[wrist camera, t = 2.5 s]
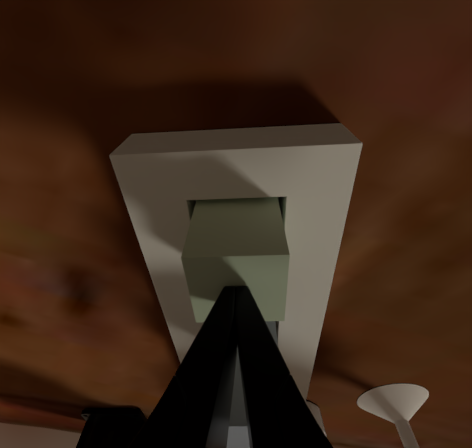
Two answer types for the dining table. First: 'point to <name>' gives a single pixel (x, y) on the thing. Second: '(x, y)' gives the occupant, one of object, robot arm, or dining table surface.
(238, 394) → the grey rectangular block
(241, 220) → the pale green block
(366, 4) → the dining table surface
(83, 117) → the dining table surface
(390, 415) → the champagne flute
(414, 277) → the dining table surface
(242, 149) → the button board
